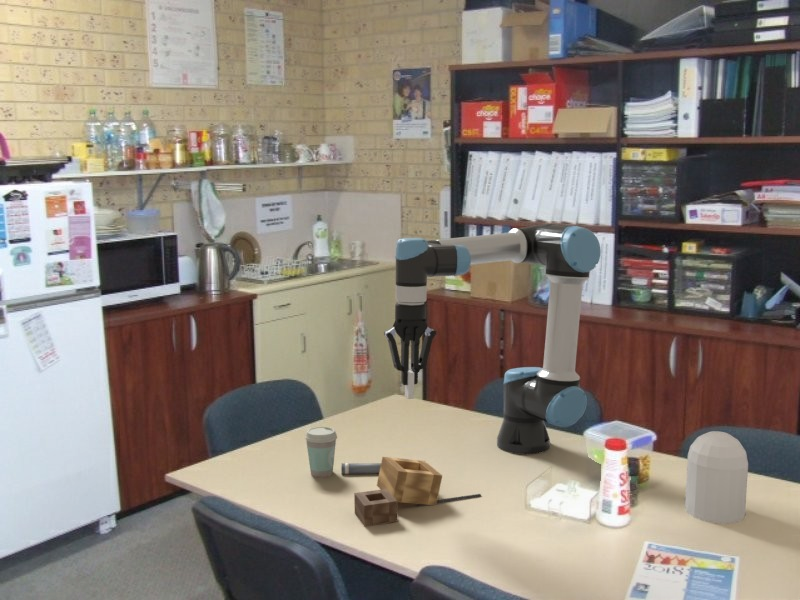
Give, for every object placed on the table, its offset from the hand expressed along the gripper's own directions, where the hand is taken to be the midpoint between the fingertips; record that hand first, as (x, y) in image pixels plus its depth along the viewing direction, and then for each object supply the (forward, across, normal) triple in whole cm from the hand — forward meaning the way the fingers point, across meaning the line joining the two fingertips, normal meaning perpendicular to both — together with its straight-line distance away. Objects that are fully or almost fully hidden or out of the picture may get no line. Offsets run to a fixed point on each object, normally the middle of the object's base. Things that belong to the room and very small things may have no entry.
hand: (409, 397), depth 212 cm
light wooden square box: (+24, +1, +2) cm, 24 cm away
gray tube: (+24, -5, -15) cm, 29 cm away
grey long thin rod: (+25, -9, +7) cm, 27 cm away
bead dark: (+26, +11, +10) cm, 30 cm away
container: (+24, -65, +34) cm, 77 cm away
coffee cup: (+26, +17, -22) cm, 38 cm away
